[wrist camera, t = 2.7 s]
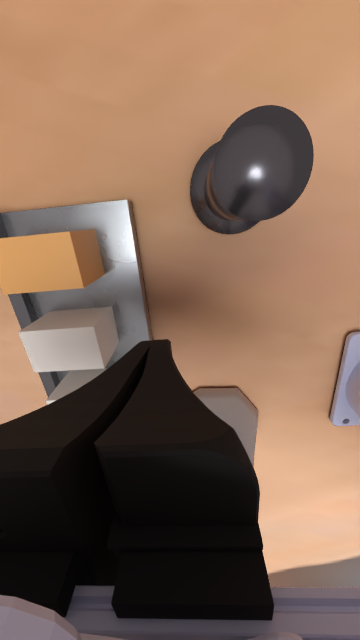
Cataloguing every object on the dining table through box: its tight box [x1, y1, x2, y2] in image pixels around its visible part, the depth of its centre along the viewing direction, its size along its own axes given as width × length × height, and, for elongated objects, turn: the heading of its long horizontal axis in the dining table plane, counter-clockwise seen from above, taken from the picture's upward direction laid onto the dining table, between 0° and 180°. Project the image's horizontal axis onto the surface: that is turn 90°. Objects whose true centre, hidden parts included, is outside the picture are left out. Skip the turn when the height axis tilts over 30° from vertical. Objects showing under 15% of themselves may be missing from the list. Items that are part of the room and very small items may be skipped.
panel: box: [0, 200, 153, 397], centre depth 15 cm, size 8×14×2 cm, turn 5°
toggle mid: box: [19, 307, 119, 372], centre depth 14 cm, size 4×2×3 cm, turn 95°
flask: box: [193, 388, 271, 587], centre depth 15 cm, size 7×7×10 cm
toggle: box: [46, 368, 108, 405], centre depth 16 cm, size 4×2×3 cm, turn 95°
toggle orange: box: [0, 229, 105, 295], centre depth 12 cm, size 4×2×3 cm, turn 95°
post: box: [190, 105, 313, 234], centre depth 10 cm, size 4×4×6 cm
